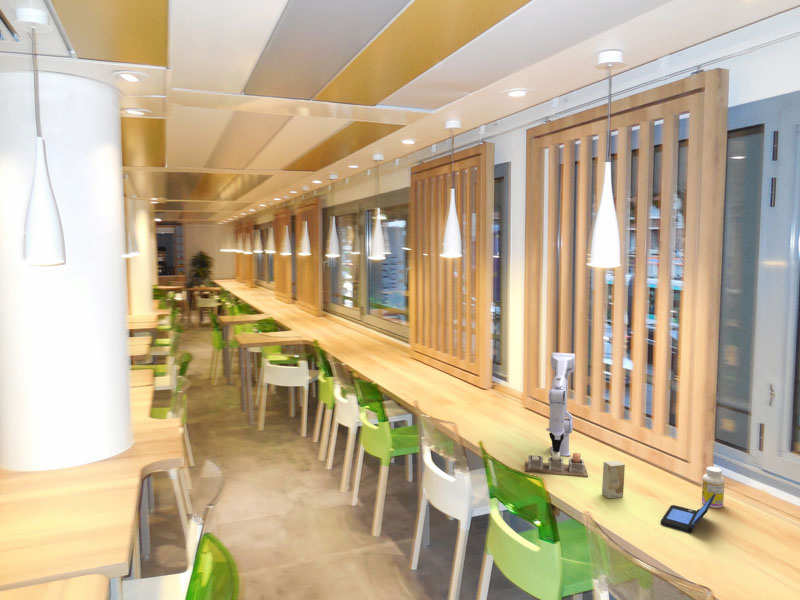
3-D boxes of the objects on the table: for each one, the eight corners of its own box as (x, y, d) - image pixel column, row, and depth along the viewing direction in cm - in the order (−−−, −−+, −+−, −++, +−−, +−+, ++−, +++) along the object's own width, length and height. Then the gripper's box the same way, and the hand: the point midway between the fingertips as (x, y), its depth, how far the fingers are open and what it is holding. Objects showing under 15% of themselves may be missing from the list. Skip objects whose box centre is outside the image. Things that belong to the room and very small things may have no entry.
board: (525, 462, 234) (525, 452, 233) (585, 467, 228) (585, 457, 228) (525, 472, 224) (525, 461, 223) (588, 477, 219) (588, 466, 218)
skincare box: (608, 499, 200) (610, 466, 199) (601, 494, 204) (602, 461, 203) (624, 497, 201) (625, 464, 200) (616, 491, 206) (617, 459, 204)
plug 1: (531, 464, 230) (531, 456, 229) (539, 464, 229) (539, 456, 229) (531, 466, 227) (531, 458, 226) (539, 467, 226) (539, 459, 226)
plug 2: (551, 459, 228) (552, 450, 227) (559, 459, 227) (559, 451, 227) (552, 461, 225) (552, 453, 224) (559, 462, 224) (560, 454, 224)
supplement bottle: (703, 498, 200) (705, 463, 199) (724, 503, 196) (726, 468, 195) (699, 505, 195) (701, 469, 194) (721, 510, 191) (723, 474, 190)
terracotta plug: (572, 460, 226) (572, 452, 226) (580, 461, 225) (580, 453, 225) (572, 463, 223) (573, 455, 223) (580, 464, 222) (581, 455, 222)
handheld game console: (671, 508, 193) (672, 482, 192) (714, 519, 185) (716, 492, 184) (659, 525, 181) (660, 498, 180) (705, 538, 173) (707, 510, 172)
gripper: (545, 412, 232) (545, 444, 233) (547, 423, 218) (546, 457, 219) (563, 413, 231) (562, 445, 232) (566, 424, 216) (565, 458, 218)
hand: (556, 451), depth 225 cm, fingers closed
